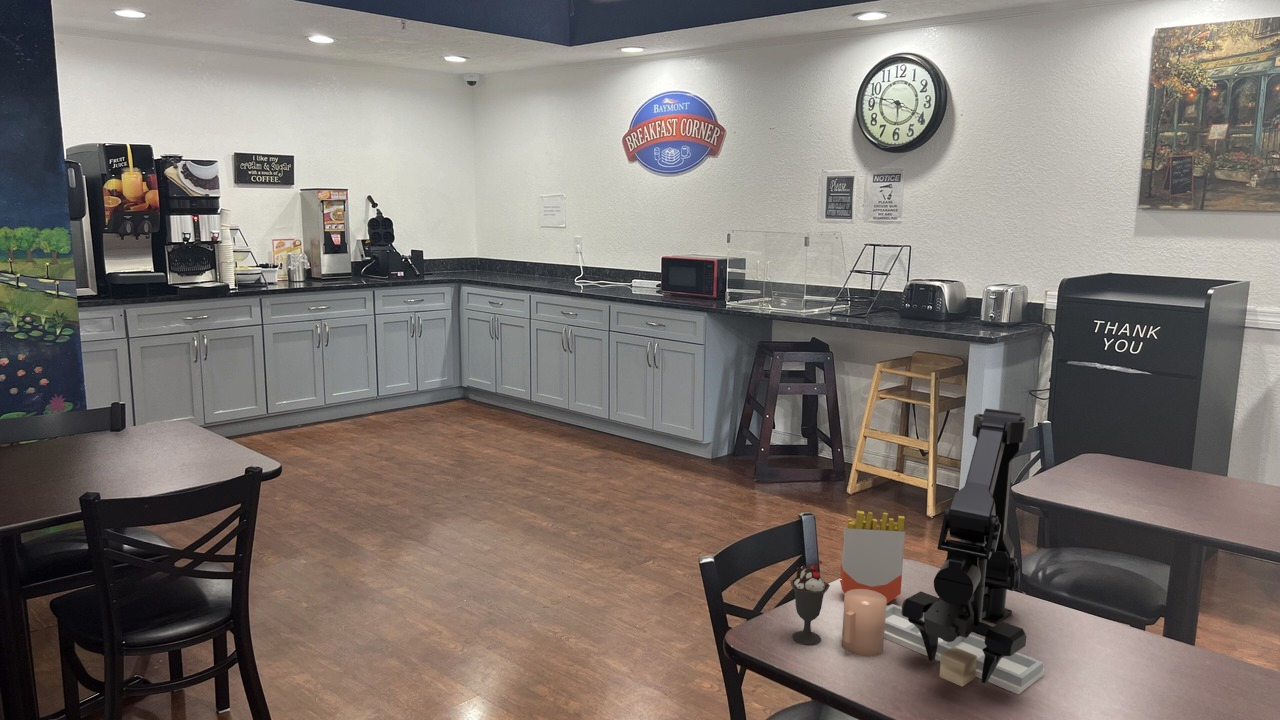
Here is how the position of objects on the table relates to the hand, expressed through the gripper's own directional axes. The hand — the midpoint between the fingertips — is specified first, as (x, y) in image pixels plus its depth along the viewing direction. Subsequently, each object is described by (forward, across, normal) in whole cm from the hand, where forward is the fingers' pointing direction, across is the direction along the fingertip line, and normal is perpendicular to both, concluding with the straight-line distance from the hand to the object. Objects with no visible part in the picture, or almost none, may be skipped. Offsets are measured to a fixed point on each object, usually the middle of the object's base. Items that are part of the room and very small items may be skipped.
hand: (957, 671), depth 148 cm
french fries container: (+1, -26, +14) cm, 30 cm away
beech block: (+1, 0, 0) cm, 1 cm away
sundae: (+1, -24, -8) cm, 25 cm away
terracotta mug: (+1, -16, -3) cm, 16 cm away
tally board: (+1, -5, +7) cm, 9 cm away
